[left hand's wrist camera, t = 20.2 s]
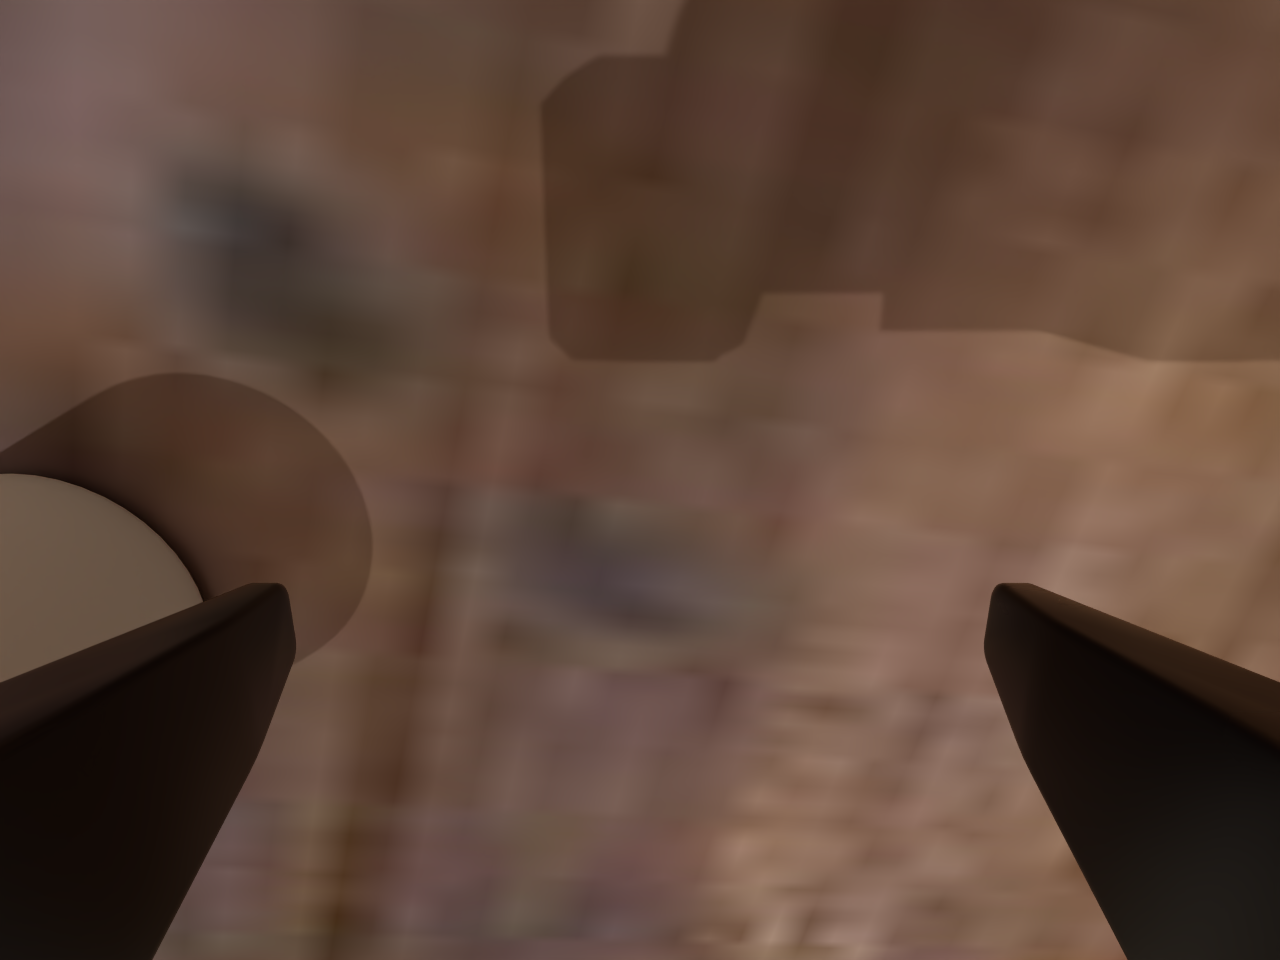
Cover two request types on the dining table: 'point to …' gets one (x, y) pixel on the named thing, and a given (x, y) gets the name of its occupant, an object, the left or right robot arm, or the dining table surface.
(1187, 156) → the dining table surface
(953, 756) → the dining table surface
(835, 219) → the dining table surface
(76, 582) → the mug
